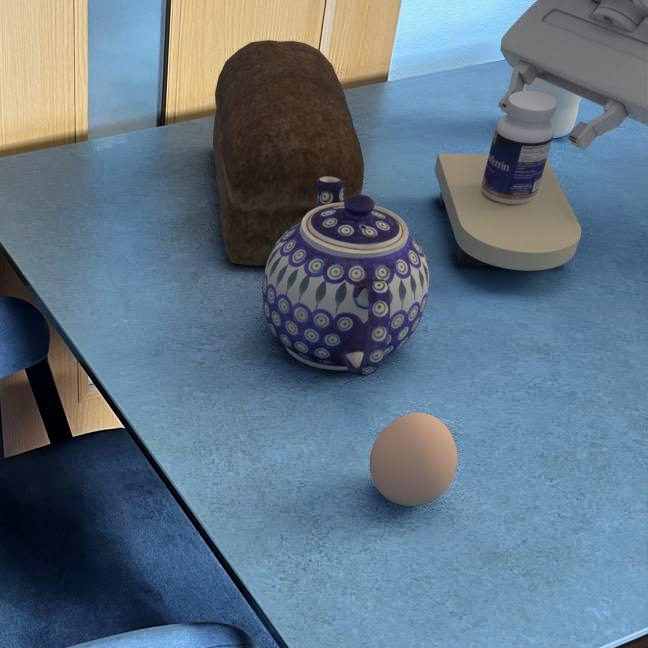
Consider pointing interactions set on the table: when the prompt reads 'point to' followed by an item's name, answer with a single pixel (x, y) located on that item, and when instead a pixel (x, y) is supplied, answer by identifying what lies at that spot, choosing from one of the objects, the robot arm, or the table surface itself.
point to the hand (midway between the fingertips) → (539, 127)
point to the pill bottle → (520, 148)
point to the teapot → (345, 283)
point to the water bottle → (559, 106)
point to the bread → (278, 143)
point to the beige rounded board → (505, 219)
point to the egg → (413, 459)
